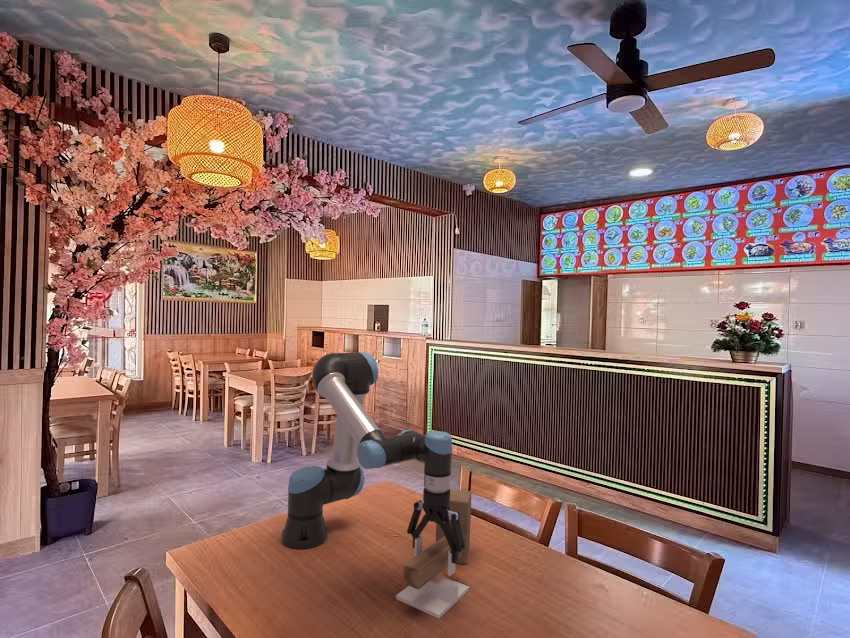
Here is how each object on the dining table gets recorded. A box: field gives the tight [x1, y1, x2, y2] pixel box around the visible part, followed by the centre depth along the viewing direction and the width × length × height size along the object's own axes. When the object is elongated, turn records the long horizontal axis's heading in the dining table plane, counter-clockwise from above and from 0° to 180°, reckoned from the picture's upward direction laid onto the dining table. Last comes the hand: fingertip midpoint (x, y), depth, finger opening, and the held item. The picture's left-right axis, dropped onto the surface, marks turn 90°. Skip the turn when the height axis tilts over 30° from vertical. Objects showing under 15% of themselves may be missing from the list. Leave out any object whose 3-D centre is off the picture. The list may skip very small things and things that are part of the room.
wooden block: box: [435, 488, 472, 565], centre depth 156 cm, size 10×10×20 cm
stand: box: [395, 570, 470, 619], centre depth 134 cm, size 14×16×8 cm
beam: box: [402, 536, 462, 590], centre depth 134 cm, size 5×22×5 cm, turn 145°
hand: (434, 566), depth 134 cm, fingers open, 10 cm apart
